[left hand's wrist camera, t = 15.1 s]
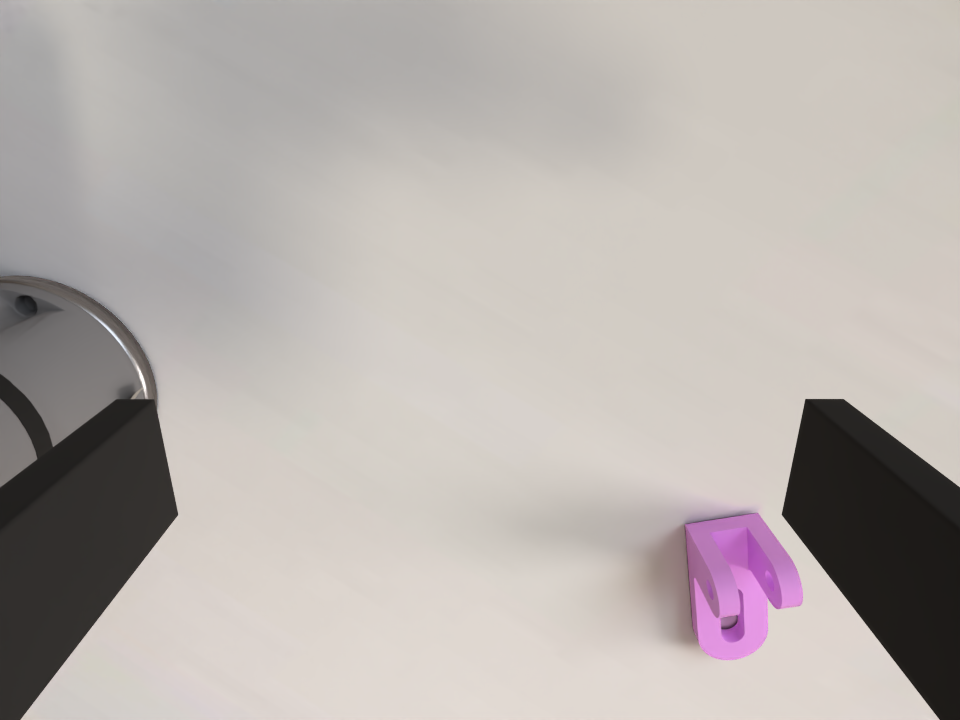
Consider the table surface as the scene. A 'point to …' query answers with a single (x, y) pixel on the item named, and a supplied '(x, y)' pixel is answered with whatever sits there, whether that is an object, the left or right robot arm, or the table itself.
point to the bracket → (737, 582)
